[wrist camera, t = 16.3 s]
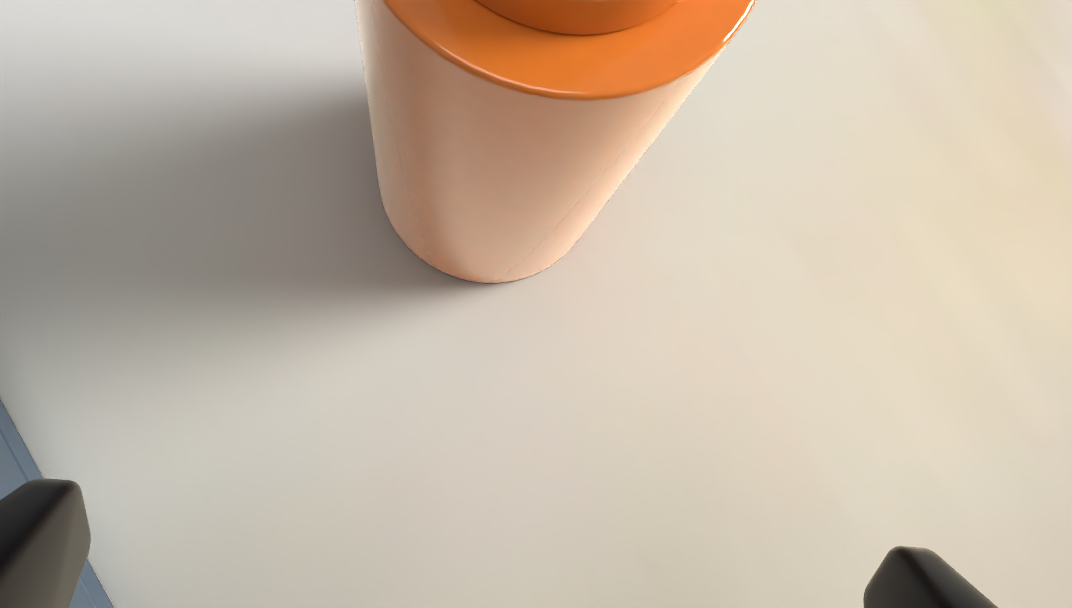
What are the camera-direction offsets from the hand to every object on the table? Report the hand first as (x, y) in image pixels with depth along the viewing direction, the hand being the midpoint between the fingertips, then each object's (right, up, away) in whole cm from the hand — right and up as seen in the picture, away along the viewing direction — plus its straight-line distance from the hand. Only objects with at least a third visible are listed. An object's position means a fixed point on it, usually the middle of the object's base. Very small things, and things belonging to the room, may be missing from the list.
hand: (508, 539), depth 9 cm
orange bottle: (-1, +6, +11) cm, 13 cm away
